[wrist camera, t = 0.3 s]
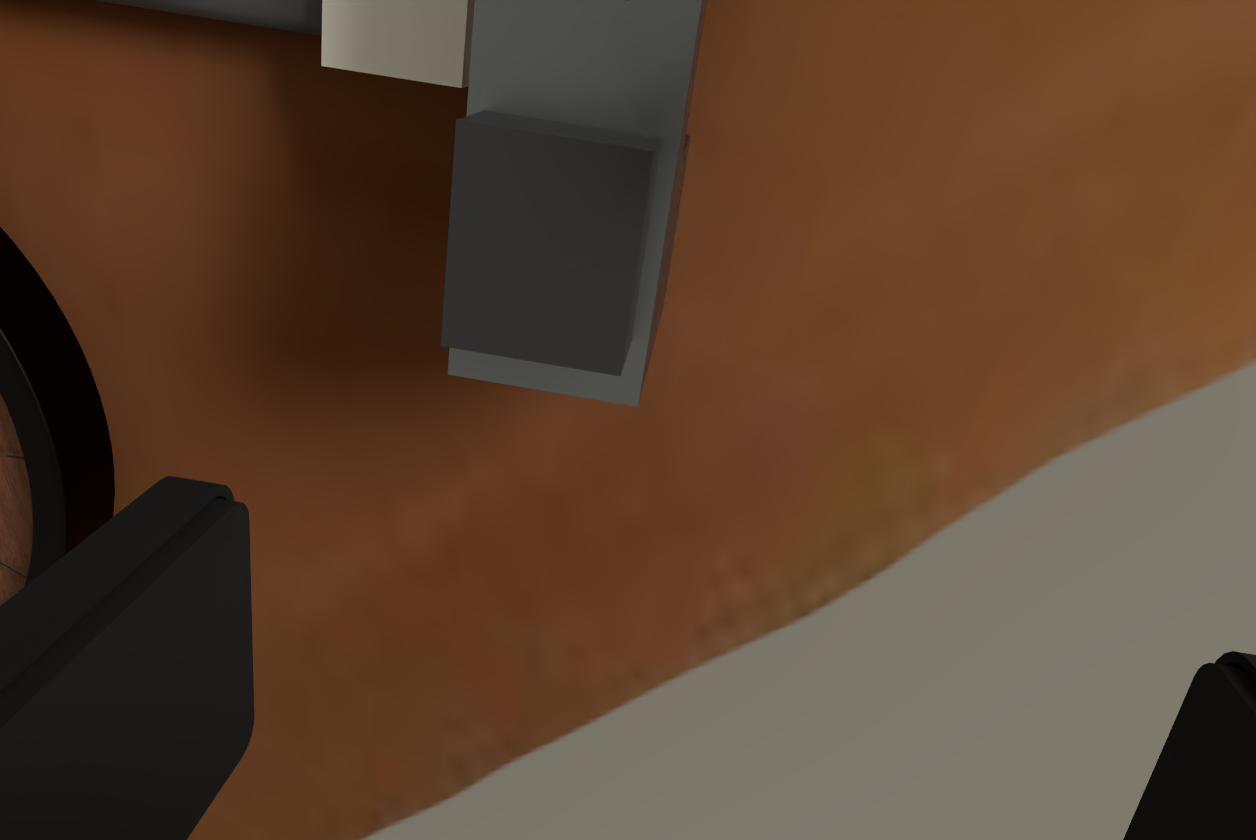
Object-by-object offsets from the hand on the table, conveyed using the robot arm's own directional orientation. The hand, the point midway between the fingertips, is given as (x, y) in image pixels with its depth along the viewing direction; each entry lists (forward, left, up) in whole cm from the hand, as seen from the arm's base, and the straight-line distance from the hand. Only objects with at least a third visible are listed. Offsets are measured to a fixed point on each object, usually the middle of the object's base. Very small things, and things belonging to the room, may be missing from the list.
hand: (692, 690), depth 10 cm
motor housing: (-5, -5, -31) cm, 31 cm away
